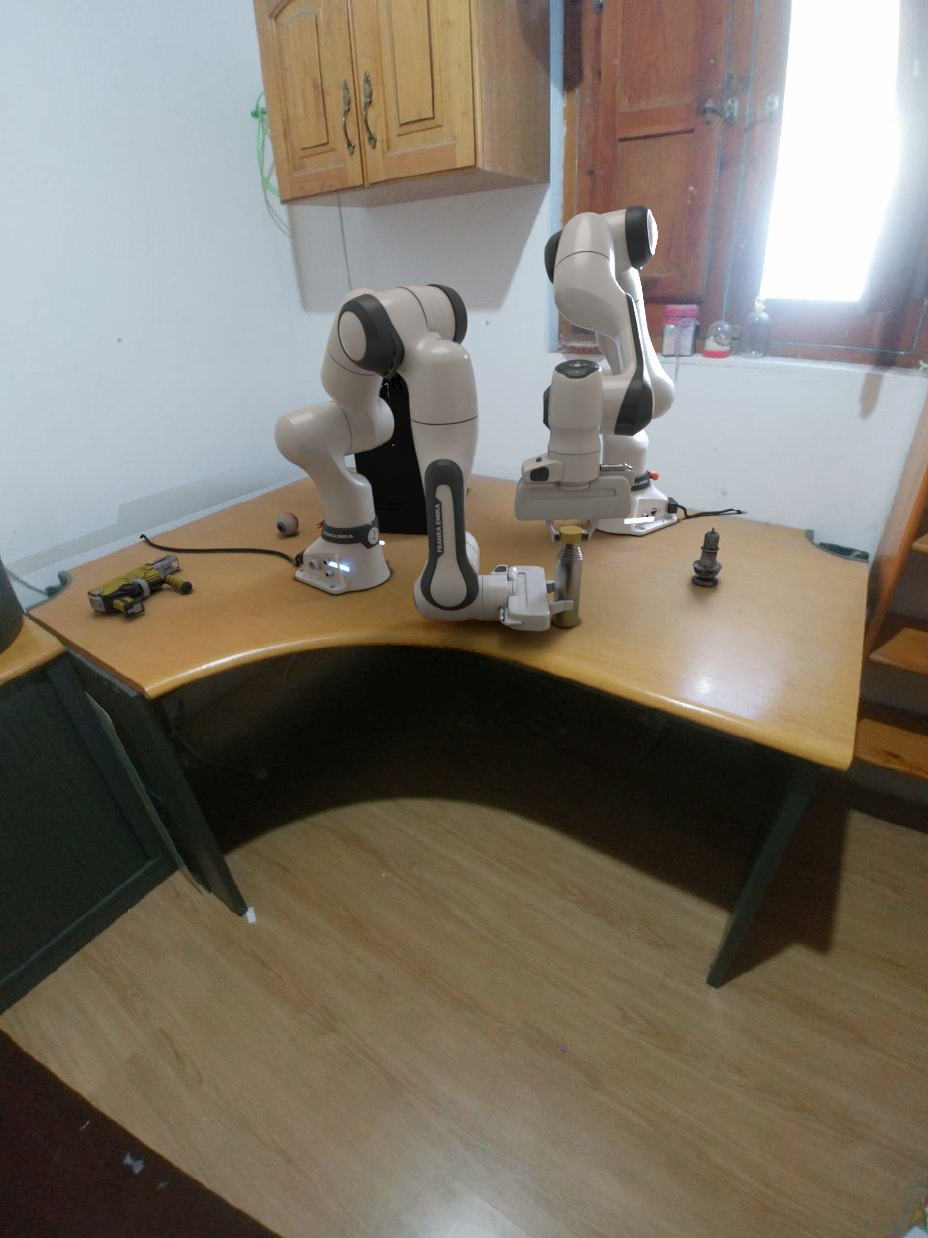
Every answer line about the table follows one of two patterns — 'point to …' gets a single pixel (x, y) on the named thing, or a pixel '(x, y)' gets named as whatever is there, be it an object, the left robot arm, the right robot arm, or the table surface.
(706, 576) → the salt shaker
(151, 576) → the toy gun
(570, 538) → the cap
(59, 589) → the table surface
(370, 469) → the black box
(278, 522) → the eyeball
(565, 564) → the bottle
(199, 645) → the table surface
